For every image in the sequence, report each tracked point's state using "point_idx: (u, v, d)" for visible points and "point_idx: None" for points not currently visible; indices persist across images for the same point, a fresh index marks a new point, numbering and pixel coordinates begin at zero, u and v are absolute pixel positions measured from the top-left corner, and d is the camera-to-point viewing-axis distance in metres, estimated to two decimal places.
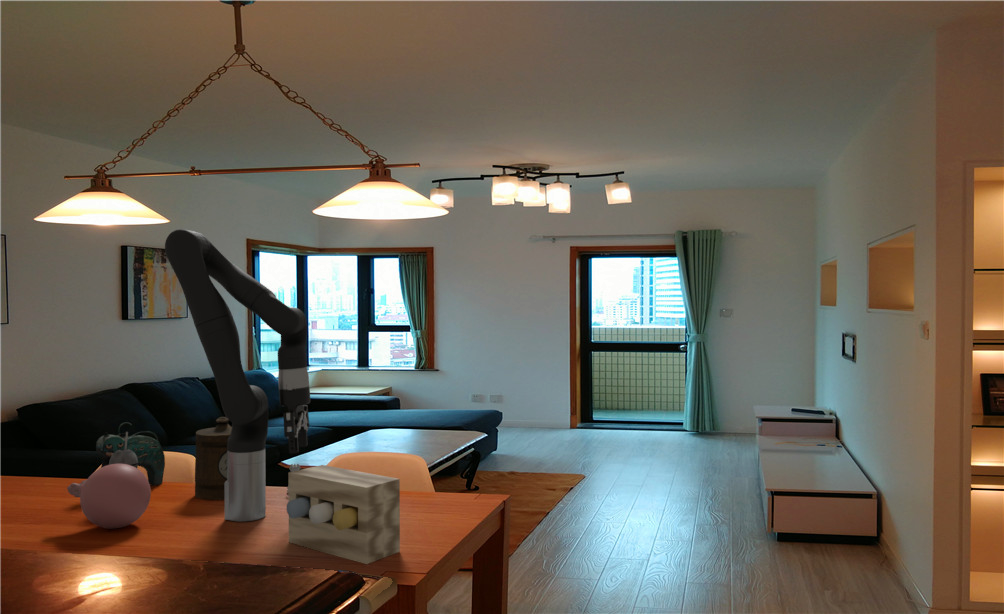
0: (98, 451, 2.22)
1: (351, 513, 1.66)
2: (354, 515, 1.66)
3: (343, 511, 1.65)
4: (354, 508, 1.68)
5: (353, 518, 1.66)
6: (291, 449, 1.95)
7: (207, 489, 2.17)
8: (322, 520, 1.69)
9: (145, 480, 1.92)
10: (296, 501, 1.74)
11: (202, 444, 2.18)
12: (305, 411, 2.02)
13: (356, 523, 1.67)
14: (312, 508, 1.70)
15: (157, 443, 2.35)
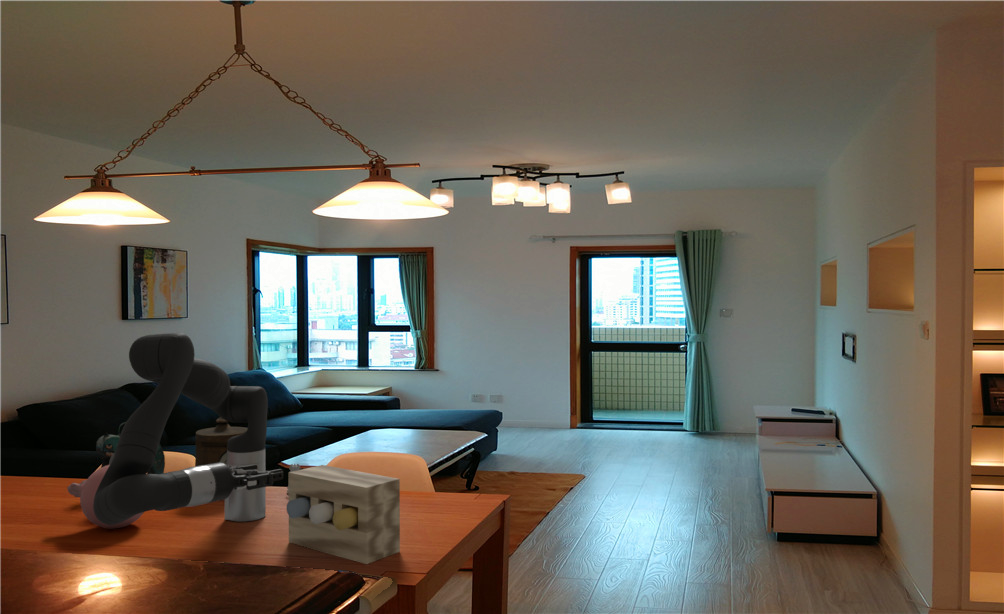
0: (98, 451, 2.22)
1: (351, 513, 1.66)
2: (354, 515, 1.66)
3: (343, 511, 1.65)
4: (354, 508, 1.68)
5: (353, 518, 1.66)
6: None
7: None
8: (322, 520, 1.69)
9: None
10: (296, 501, 1.74)
11: (202, 444, 2.18)
12: (236, 489, 1.60)
13: (356, 523, 1.67)
14: (312, 508, 1.70)
15: None
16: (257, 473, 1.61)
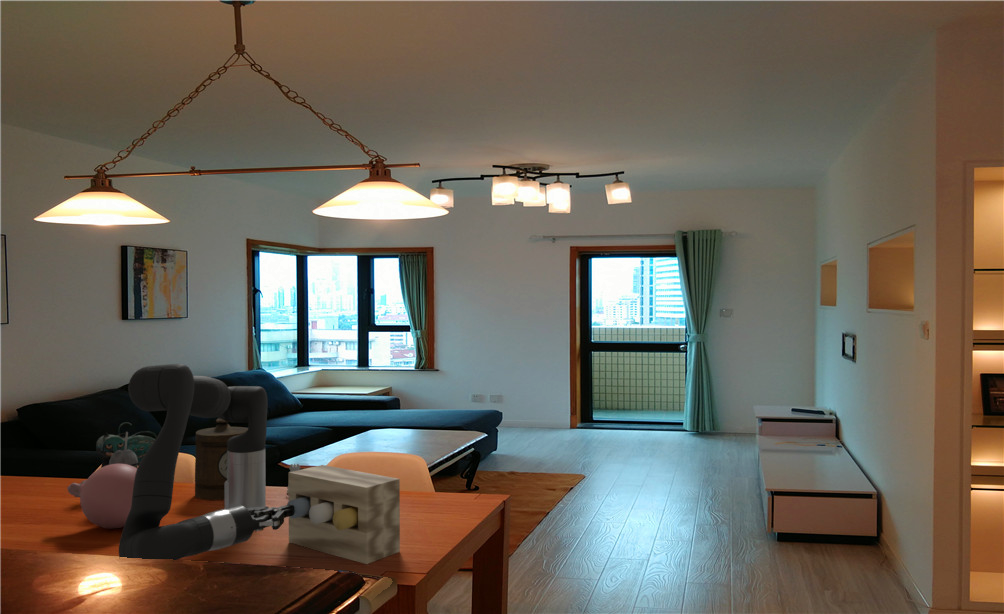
0: (98, 451, 2.22)
1: (351, 513, 1.66)
2: (354, 515, 1.66)
3: (343, 511, 1.65)
4: (354, 508, 1.68)
5: (353, 518, 1.66)
6: None
7: (207, 489, 2.17)
8: (322, 520, 1.69)
9: None
10: (296, 501, 1.74)
11: (202, 444, 2.18)
12: (258, 530, 1.65)
13: (356, 523, 1.67)
14: (312, 508, 1.70)
15: None
16: (273, 512, 1.68)
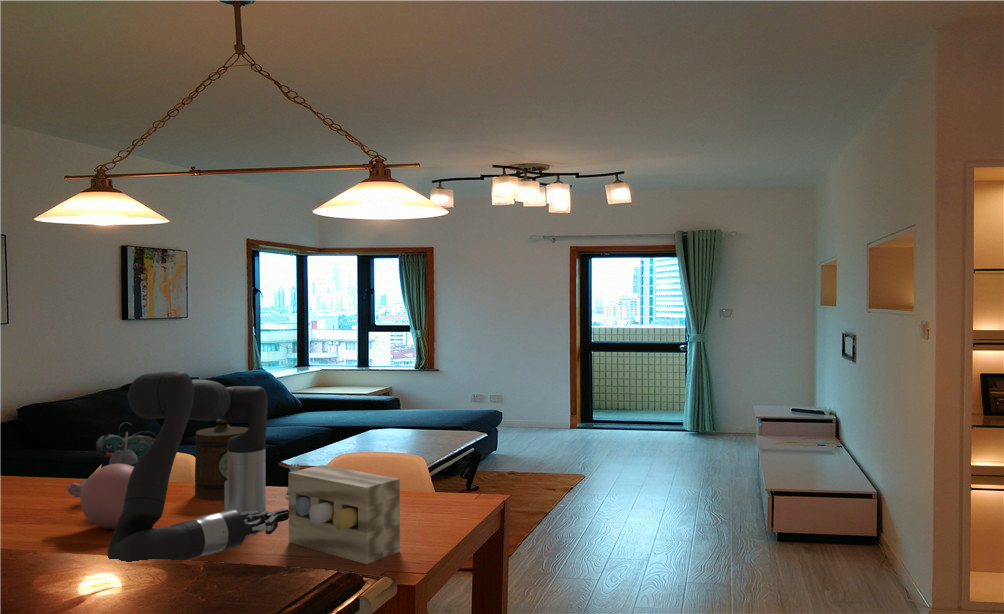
0: (98, 451, 2.22)
1: (351, 513, 1.66)
2: (354, 515, 1.66)
3: (343, 511, 1.65)
4: (354, 508, 1.68)
5: (353, 518, 1.66)
6: None
7: (207, 489, 2.17)
8: (322, 520, 1.69)
9: None
10: (305, 499, 1.76)
11: (202, 444, 2.18)
12: (251, 535, 1.61)
13: (356, 523, 1.67)
14: (312, 508, 1.70)
15: None
16: (267, 516, 1.64)
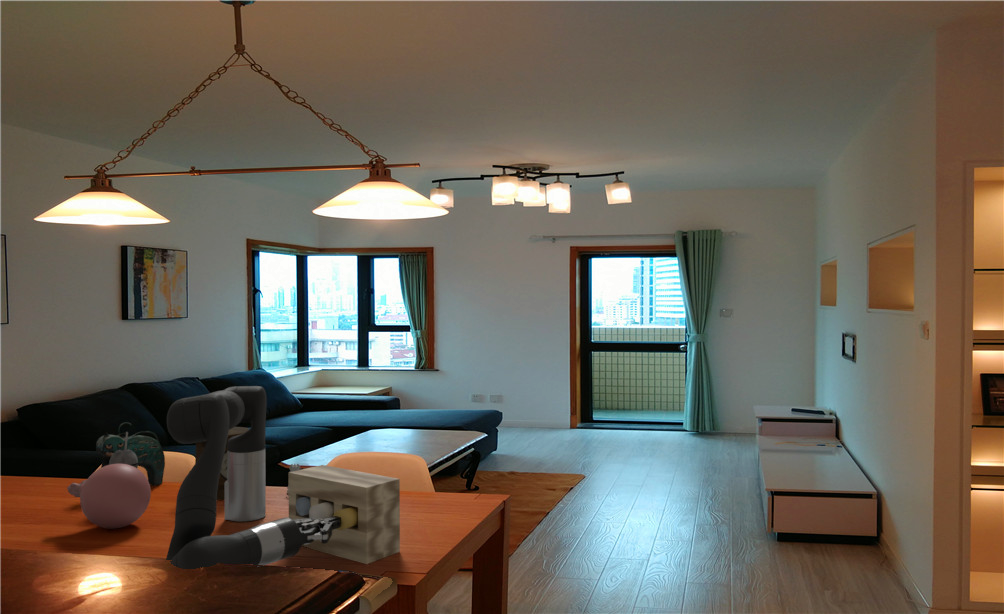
0: (98, 451, 2.22)
1: (351, 513, 1.66)
2: (354, 515, 1.66)
3: (343, 511, 1.65)
4: (354, 508, 1.68)
5: (353, 518, 1.66)
6: None
7: None
8: None
9: (145, 480, 1.92)
10: (305, 499, 1.76)
11: (202, 444, 2.18)
12: (306, 544, 1.56)
13: (356, 523, 1.67)
14: (312, 508, 1.70)
15: (157, 443, 2.35)
16: (320, 524, 1.59)
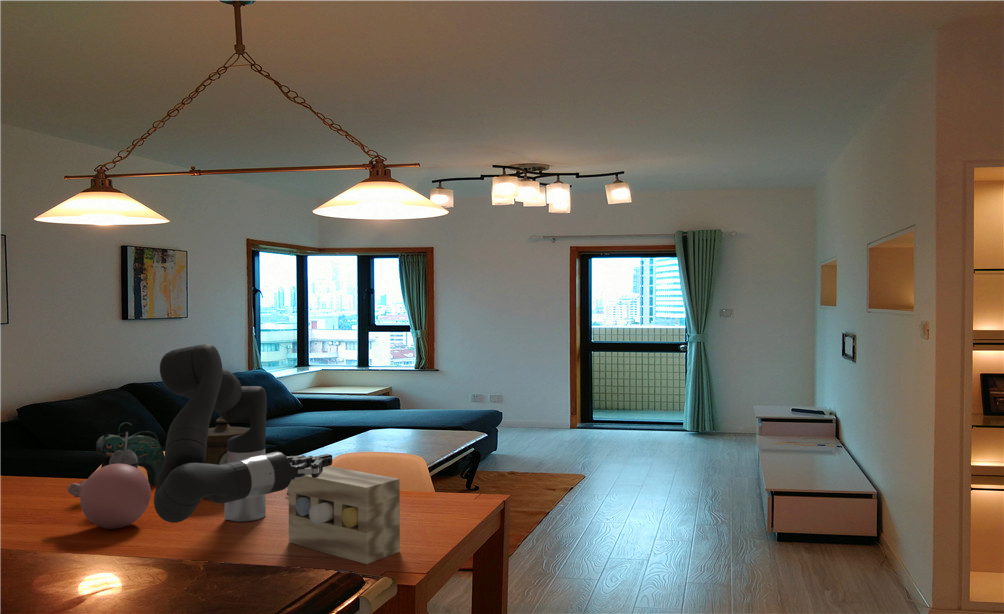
0: (98, 451, 2.22)
1: None
2: None
3: (352, 508, 1.67)
4: None
5: None
6: None
7: None
8: (322, 520, 1.69)
9: (145, 480, 1.92)
10: (305, 499, 1.76)
11: None
12: None
13: None
14: (312, 508, 1.70)
15: (157, 443, 2.35)
16: (311, 460, 1.58)
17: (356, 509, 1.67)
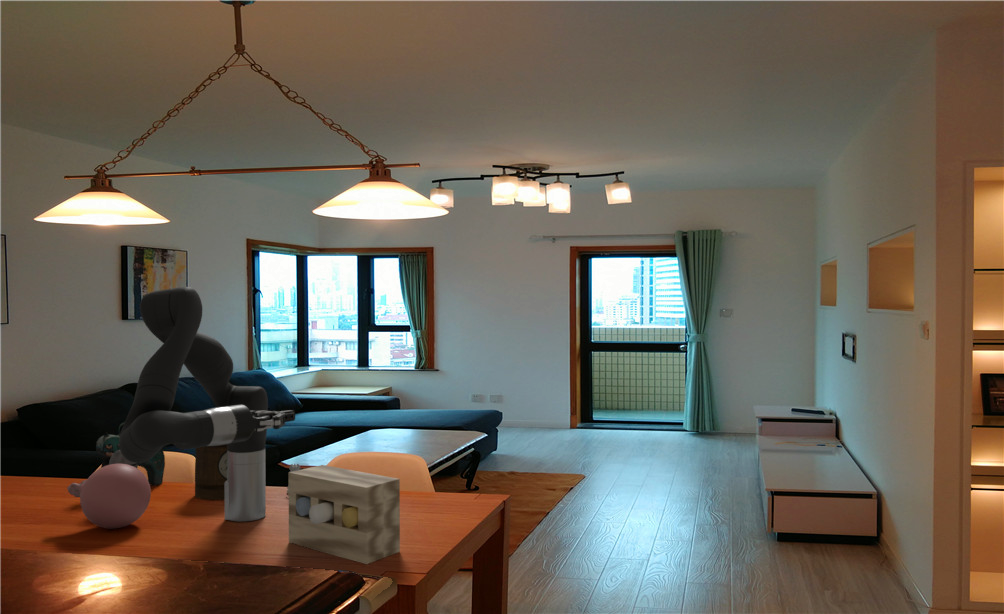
0: (98, 451, 2.22)
1: None
2: None
3: (352, 508, 1.67)
4: None
5: None
6: None
7: (207, 488, 2.17)
8: (322, 520, 1.69)
9: (145, 480, 1.92)
10: (305, 499, 1.76)
11: None
12: (259, 431, 1.63)
13: None
14: (312, 508, 1.70)
15: None
16: (274, 414, 1.66)
17: (356, 509, 1.67)
